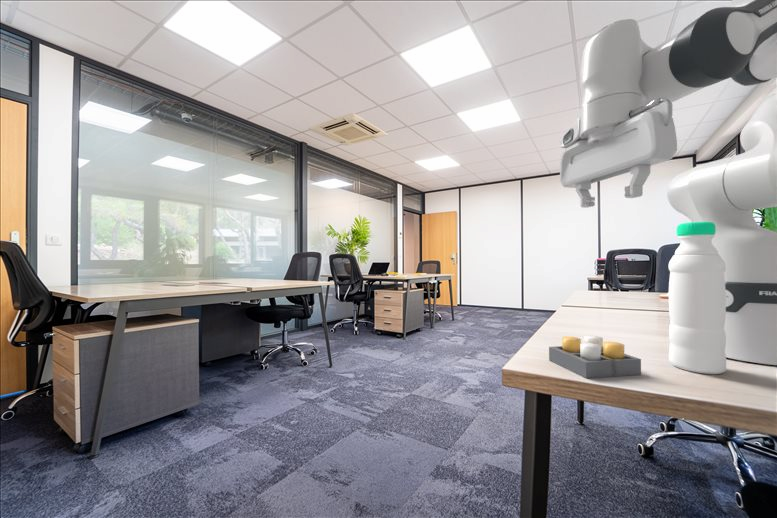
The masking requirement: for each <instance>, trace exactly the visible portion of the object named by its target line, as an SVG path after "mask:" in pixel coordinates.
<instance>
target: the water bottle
mask: <svg viewBox="0 0 777 518" xmlns="http://www.w3.org/2000/svg"><path fill="white" fill-rule="evenodd" d="M715 232H716V227H715V224H714V223H712V222H692V221H691V222H683V223H680V224H678V225H677V227H676V236H677V239H678V240H679V241H680V244H679V245H678V247H677V248H676V249H675V252H674V255H672V257H671V259H670V260H669V262H668V271H669V279H668V280H669V281H668V314H669V321H670V323H669V327H668V338H669V348H668V361H669V362H670V364H671V365H672V366H674V367H676V368H678V369H681V370H685V371H688V372H693V373H697V374H706V375H720V374H723V373H725V372H726V371H727V357H726V355H725V345H726V334H725V330H724V325H725V314H726V290H725V279H724V272H725V269H726V265H725V262H724V260H723V259H722V257H721V256H720V255H718V251H717V249H716V248H715V247H714V246H713V245H712V242H711V240H712V238H713V237H715V236H714V235H715Z"/></svg>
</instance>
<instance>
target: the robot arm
mask: <svg viewBox="0 0 777 518" xmlns="http://www.w3.org/2000/svg"><path fill="white" fill-rule="evenodd" d="M581 56H582V57H581V61H580V63H581V64H580V72H579V73H580V75H579V76H580V77H579V88H580V92H581V97H582V99H581V100H582V101H581V104H580V107H579V117H578V118H577V119H576V120H575V122H574V123H573V124H572V126H571V127H570V128H569V129H568V130H567V131H566V133H564V134H563V135H562V136H561V138H560V140H559V146H560V148H561V149H563V151H561V155H560V162H559V179H560V181H559V182H560V183H561V186H562V187H563V188H570V189H574V188H575V192H576V193H577V195H578V197H579V198H580V207H581V208H583V209H584V208H593V207H594V206H595V205H596V202H595V201H596V197H595V196H592V194H591V193H590V191H589V190H592V184H595V183H598V182H601V181H605V180H608V179H612V178H615V177H617V176H621V175H624V174H628V173H630V174H631V175H632V178H631V179H630V182H629V185H627V186H624V198H626V199H635V198H640V197H642V196H643V186H644V185H645V183H646V182H647V180H648V178H649V177H650V175H651V167H652V166H654V165H658V164H661V163H664V162H668V161H670V160H672V159H673V157H675V155H676V153H677V151H678V142H677V141H678V139H677V130H676V125H675V121H674V118H673V102H676V101H678V100H680V99H683V98H684V97H687V96H689V95H692V94H693V93H696V92H697V91H701V90H702V89H704V88H707V87H709V86H712V85H716V84H717V83H720V82H723V81H725V80H727V79H732V81H734V82H735V83H737V84H739V85H741V86H745V87H747V86H754V85H759V84H763V83H768V82H769V81H771V80H772V79H775V78H777V0H730V2H727V3H726V4H725V5H723V6H721V7H716V8H711V9H709V10H707V11H705V12H704V13H703V14H702V15H700V16H699V17H698V18H696V19H695V20H694V21H692V22H691V23H689V24H688V25H687V26H685V27H684V28H683V29H681V30H679V31H678V32H677V33H675V34H674V35H672V36H670V37H669V38H668V39H667V40H665V41H663V42H661V44H659V45H657V46H655V47H651V46H649V45H648V44H647V43H646V42H644V40H643V39H642V38H641V31H640V26H639V24H638V22H637V20H636V19H632V18H628V19H626V18H625V19H620V20H618V21H615V22H613V23H611V24H609V25H606V26H605V27H603V28H601V29H600V30H599V31H597V32H596V33H595V34H594V35H593V36H591V37H590V38H589V40H588V41H587V42H586V44H585V46H584V47H583V52H582V55H581ZM739 140H740V145H741V148H742V149H743V150H744V151H745V152H743V153H739V154H737V155H732V156H729V157H725V158H720V159H717V160H713V161H708V162H705V163H702V164H699V165H696V166H694V167H691V168H689V169H687V170H685V171H683V172H680V173H678V174H677V175H675V176H674V177H673V178H672V179H671V181H670V182H669V185H668V188H667V191H666V192H667V201H668V202H669V205H671V207H672V208H673V209H674V210H675V211H676V212H677V213H679V214H682V215H683V216H685V217H686V218H688V219H689V220H690V221H691V222H712V223H714V224H715V227H716V232H715V235H714V236H715V237H713V238H712V240H711V242H712V245H713V246H714V247H715V248H716V249H717V251H718V255H720V256H721V257H722V259H723V260H724V262H725V265H726V269H725V272H724V279H725V290H726V314H725V325H724V330H725V334H726V345H725V355H726V359H727V358H728V359H732V360H737V361H742V362H750V363H754V364H755V363H756V364H762V365H771V366H777V231H774V230H771V229H768V228H764V227H761V225H759V224H758V222H757V221H756V220H755V218H754V214H753V210H760V209H768V208H770V209H771V208H777V85H776V86H775V87H774V88H773V90H772V91H770V92H769V93H768V95H767V96H766V97H765V98H764V100H763V101H762V102H761V103H760V105H759V106H758V108H757V109H756V110H755V112H754V113H753V114H752V116H751V117H750V118H749V119H748V120H747V122H746V123H745V125H744V127H743V128H742V129H741V131H740V136H739Z"/></svg>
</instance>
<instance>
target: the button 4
mask: <svg viewBox="0 0 777 518" xmlns="http://www.w3.org/2000/svg"><path fill="white" fill-rule="evenodd" d="M624 354H625V344H623V343H622V342H616V341H603V356H605V357H608V358H610V359H613V360H616V359H624Z"/></svg>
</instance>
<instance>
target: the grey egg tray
mask: <svg viewBox="0 0 777 518" xmlns="http://www.w3.org/2000/svg"><path fill="white" fill-rule="evenodd" d="M548 361H550V362H553V363H554V364H556V365H558V366H560V367H562V368H564V369H566V370H568V369H569V370H568V371H570V370H571V371H570V372H573V373H574V374H577V375H578V376H579V377H580V376H581V377H582V378H585V379H594V378H609V377H621V376H623V377H624V376H636V375H637V376H638V375H641V374H642V359H641V358H639V357H636V356H633V355H630V354H627V353H624V359H616V360H613V359H610V358H608V357H605V356H603V351H601V360H600V361H588V360H585V359H583V358H580V352H579V353H568V352H566V351H563V350H562V345H559V346H557V345H556V346H549V347H548Z"/></svg>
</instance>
